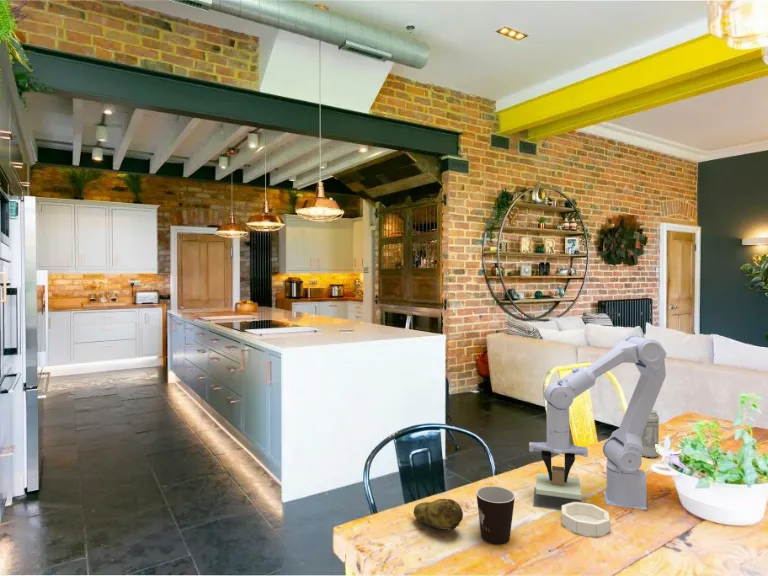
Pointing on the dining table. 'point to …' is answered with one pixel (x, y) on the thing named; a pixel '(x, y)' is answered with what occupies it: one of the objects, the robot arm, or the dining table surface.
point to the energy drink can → (650, 435)
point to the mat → (551, 501)
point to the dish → (585, 519)
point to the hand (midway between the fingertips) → (558, 480)
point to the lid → (558, 485)
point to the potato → (439, 513)
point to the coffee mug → (495, 513)
